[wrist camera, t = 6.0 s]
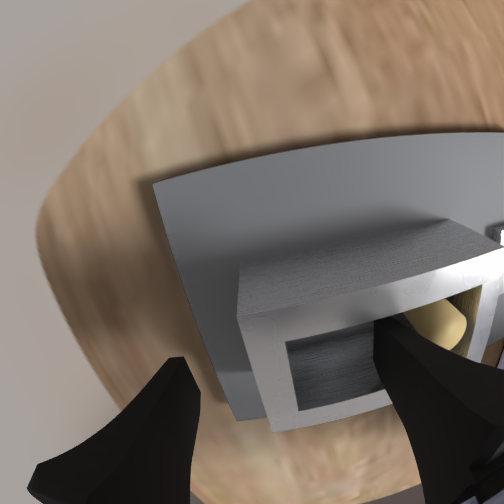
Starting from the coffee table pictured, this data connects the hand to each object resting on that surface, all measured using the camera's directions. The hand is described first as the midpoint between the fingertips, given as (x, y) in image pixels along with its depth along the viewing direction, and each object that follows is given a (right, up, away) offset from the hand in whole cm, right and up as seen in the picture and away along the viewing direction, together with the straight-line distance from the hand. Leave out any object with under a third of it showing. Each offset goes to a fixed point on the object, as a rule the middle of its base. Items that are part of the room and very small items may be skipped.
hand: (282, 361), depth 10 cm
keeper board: (+6, +3, +4) cm, 8 cm away
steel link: (+4, +2, +2) cm, 5 cm away
